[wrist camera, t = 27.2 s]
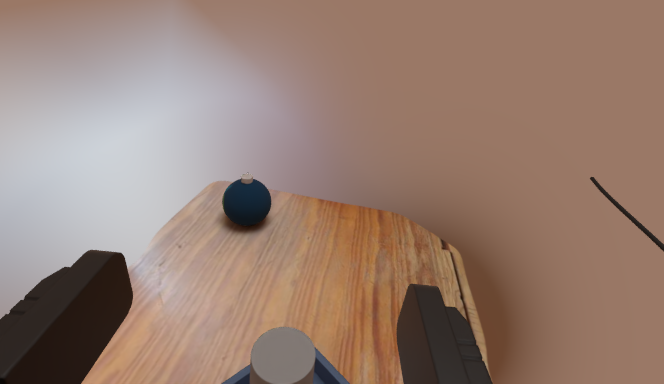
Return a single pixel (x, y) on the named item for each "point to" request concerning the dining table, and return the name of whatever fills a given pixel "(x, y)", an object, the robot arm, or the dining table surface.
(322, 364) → the tray
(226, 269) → the dining table surface
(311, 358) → the container
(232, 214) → the christmas ornament
